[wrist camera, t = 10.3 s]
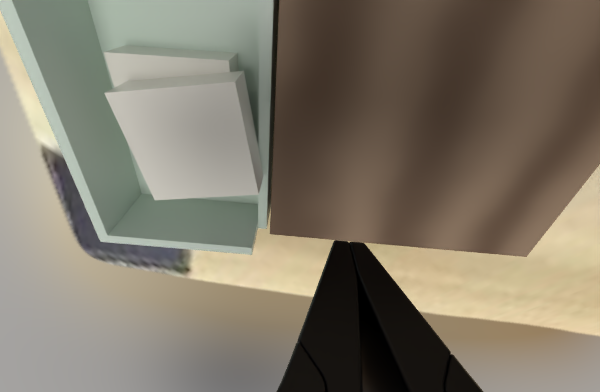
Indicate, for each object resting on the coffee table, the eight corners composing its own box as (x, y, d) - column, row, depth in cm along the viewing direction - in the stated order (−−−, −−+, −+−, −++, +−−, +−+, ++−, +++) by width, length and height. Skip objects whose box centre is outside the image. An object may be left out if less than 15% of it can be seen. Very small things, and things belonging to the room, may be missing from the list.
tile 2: (243, 70, 14) (235, 81, 13) (263, 175, 18) (258, 194, 16) (127, 81, 15) (104, 93, 13) (168, 181, 18) (154, 200, 17)
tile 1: (237, 52, 16) (228, 60, 14) (243, 153, 19) (237, 168, 17) (125, 45, 16) (103, 52, 14) (152, 147, 19) (137, 162, 17)
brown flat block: (674, -29, 14) (754, -32, 11) (503, 227, 23) (526, 256, 20) (288, -74, 13) (282, -87, 11) (274, 207, 22) (269, 234, 20)
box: (281, -74, 13) (267, -102, 9) (270, 206, 22) (261, 255, 18) (54, -101, 13) (-66, -141, 9) (139, 194, 22) (100, 241, 18)
